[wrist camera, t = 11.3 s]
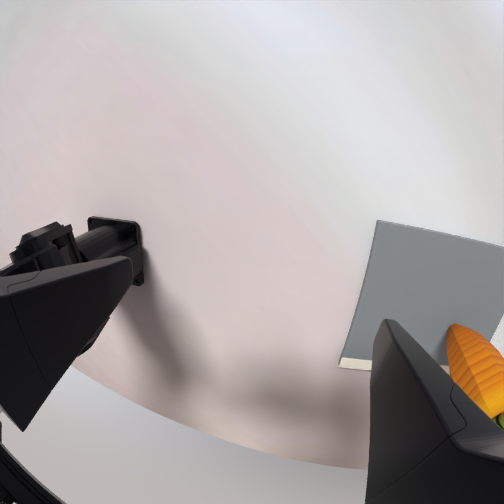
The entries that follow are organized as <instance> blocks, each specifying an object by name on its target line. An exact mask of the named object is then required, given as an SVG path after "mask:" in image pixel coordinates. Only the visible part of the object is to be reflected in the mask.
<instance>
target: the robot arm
mask: <svg viewBox="0 0 504 504" xmlns="http://www.w3.org/2000/svg"><path fill="white" fill-rule="evenodd" d="M132 225H133V226H134V229H133V227H132ZM72 230H73V229H72V226H71V224H70V225H67V226H65V227H64V225H60V224H59V223H58V222H57V221H56V222H54V223H52V224H49V225H47V226H45V227H42V228H40V229H37V230H34V231H32V232H29V233H27V234H25V235H23V236H22V238H21V241H20V244H19V246H17V247H15V248H16V250H15V251H13V252H12V253H10V254H9V255H10V258H11V260H12V263H11V264H9V265H7V266H5V267H3V268H2V269H0V413H1V412H2V411H3V412H4V413H5V414H6V415H7V417H8V418H9V419H10V420H11V421H12V422H13V423H14V424H15V425H16V426H17V427H18V428H19V429H20V430H21V431H22V432H24V430H25V429H26V428H27V426H28V425H29V423H30V422H31V420H32V419H33V417H34V416H35V414H36V413H37V411H38V410H39V408H40V407H41V406H42V404H43V403H44V401H45V400H46V398H47V397H48V395H49V394H50V393H51V390H52V389H53V388H54V387H55V385H56V384H57V383H58V381H59V380H60V378H61V377H62V376H63V374H64V373H65V372H66V370H67V369H68V368H69V366H70V365H71V364H72V362H73V361H74V360H75V359H76V357H78V356H80V355H81V354H83V353H84V352H86V351H87V350H88V349H89V348H90V347H91V346H92V345H93V344H94V342H95V341H96V339H97V337H98V336H99V334H100V333H101V331H102V329H103V328H104V326H105V325H106V323H107V322H108V320H109V318H110V317H109V316H110V315H111V313H112V312H113V311H114V309H115V308H116V306H117V305H118V303H119V302H120V300H121V299H122V297H123V296H124V295H125V293H126V292H127V290H128V289H129V287H130V286H131V284H132V285H136V286H141V285H142V284H143V283H144V279H143V267H142V257H141V247H140V237H139V226H138V224H137V223H136V222H135V221H127V220H119V219H111V218H103V217H95V216H92V217H89V218H88V230H89V231H88V232H86V233H84V234H82V235H80V236H78V237H76V238H74V235H73V232H72ZM138 280H139V281H138ZM1 428H2V423H1V422H0V504H12V503H13V502H15V503H16V504H66V503H65V502H64V501H62V500H61V499H60V498H59V497H57V496H56V495H55V494H54V493H52V492H51V491H50V490H49V489H48V488H47V487H45V486H44V485H43V484H42V483H41V482H40V481H39V480H37V479H36V478H35V477H34V476H33V475H32V474H31V473H30V472H29V471H28V470H27V469H26V468H25V467H24V466H23V465H22V464H21V463H20V462H19V461H18V460H17V459H16V458H15V457H14V456H13V455H12V454H11V453H10V452H9V451H8V450H7V449H6V447H5V446H4V445H3V444H2V442H1V441H2V440H1ZM365 504H504V431H503V430H502V429H501V428H500V427H499V426H498V425H497V424H496V423H495V422H494V421H493V420H492V419H491V418H490V417H489V416H488V415H487V414H486V413H485V412H484V411H483V410H482V409H481V408H480V407H479V406H478V405H477V404H476V403H475V402H474V401H473V400H472V399H471V398H470V397H469V396H468V395H467V394H466V393H465V392H464V391H463V390H462V389H461V388H460V387H459V386H458V384H457V383H456V382H454V380H453V379H452V378H451V377H450V376H449V375H448V374H447V373H446V372H445V370H444V369H443V368H442V367H441V366H440V365H439V364H438V363H437V362H436V361H435V360H434V359H433V358H432V357H431V356H430V355H429V354H428V353H427V352H426V351H425V349H424V348H423V347H422V346H421V345H420V344H419V343H418V342H417V341H416V340H415V339H414V338H413V337H412V336H411V335H410V334H409V333H408V332H407V331H406V330H405V329H404V328H403V327H402V326H401V325H400V324H399V323H398V322H397V321H396V320H392V319H387V318H385V319H383V321H382V322H381V325H380V327H379V329H378V332H377V334H376V336H375V338H374V342H373V353H372V367H371V379H370V447H369V464H368V478H367V488H366V498H365Z"/></svg>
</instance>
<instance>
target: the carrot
mask: <svg viewBox="0 0 504 504" xmlns="http://www.w3.org/2000/svg"><path fill="white" fill-rule="evenodd" d="M447 356H448V364H449V371H450V377H451V378H452V379H453V380H454V382H456V383H457V384H458V386H459V387H460V388H461V389H462V390H463V391H464V392H465V393H466V394H467V395H468V396H469V397H470V398H471V399H472V400H473V401H474V402H475V403H476V404H477V405H478V406H479V407H480V408H481V409H482V410H483V411H484V412H485V413H486V414H487V415H488V416H489V417H490V418H491V419H492V420H493V421H494V422H495V423H496V424H497V425H498V426H499V427H500V428H501V429H502V430H503V431H504V358H503V357H502V355H501V354H500V353H499V351H498V350H497V349H496V348H495V347H494V346H493V345H492V344H491V343H490V342H489V341H488V340H487V339H486V338H484V337H483V336H482V335H481V334H480V333H478V332H476V331H474V330H473V329H471V328H468V327H465V326H462V325H459V324H456V323H455V324H453V325H451V326H450V328H449V329H448V335H447Z"/></svg>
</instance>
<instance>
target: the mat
mask: <svg viewBox="0 0 504 504" xmlns="http://www.w3.org/2000/svg"><path fill="white" fill-rule="evenodd" d="M503 314H504V247H502V246H498V245H494V244H490V243H486V242H481V241H477V240H473V239H469V238H464V237H460V236H456V235H451V234H447V233H442V232H437V231H432V230H428V229H423V228H418V227H413V226H408V225H402V224H397V223H392V222H386V221H381V220H377V223H376V228H375V233H374V238H373V243H372V247H371V252H370V256H369V261H368V265H367V269H366V273H365V277H364V281H363V285H362V289H361V292H360V296H359V300H358V303H357V307H356V310H355V314H354V317H353V320H352V324H351V327H350V330H349V333H348V336H347V339H346V342H345V345H344V348H343V351H342V354H341V357H340V360H339V367H343V368H351V369H361V370H371V367H372V353H373V342H374V338H375V336H376V334H377V332H378V329H379V327H380V325H381V322H382V321H383V319H385V318H387V319H392V320H396V321H397V322H398V323H399V324H400V325H401V326H402V327H403V328H404V329H405V330H406V331H407V332H408V333H409V334H410V335H411V336H412V337H413V338H414V339H415V340H416V341H417V342H418V343H419V344H420V345H421V346H422V347H423V348H424V349H425V351H426V352H427V353H428V354H429V355H430V356H431V357H432V358H433V359H434V360H435V361H436V362H437V363H438V364H439V365H440V366H441V367H442V368H443V369H444V370H445V372H446V373H447V374H450V371H449V364H448V356H447V335H448V329H449V328H450V326H451V325H453V324H455V323H456V324H459V325H462V326H465V327H468V328H471V329H473V330H474V331H476V332H478V333H480V334H481V335H482V336H483V337H484V338H486V339H487V340H488V341H489V342H490V340H491V338H492V336H493V334H494V332H495V330H496V328H497V326H498V324H499V322H500V320H501V318H502V316H503Z"/></svg>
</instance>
